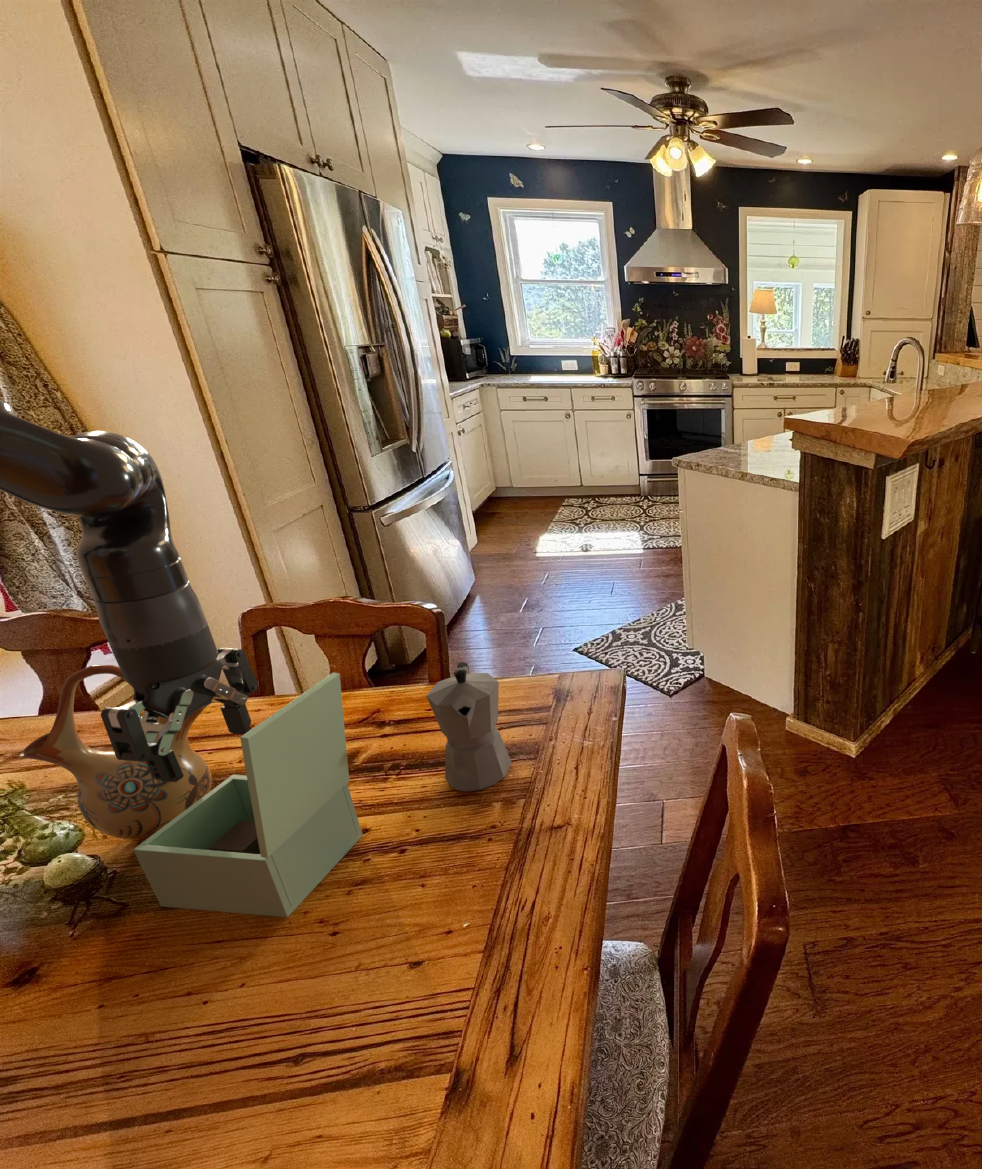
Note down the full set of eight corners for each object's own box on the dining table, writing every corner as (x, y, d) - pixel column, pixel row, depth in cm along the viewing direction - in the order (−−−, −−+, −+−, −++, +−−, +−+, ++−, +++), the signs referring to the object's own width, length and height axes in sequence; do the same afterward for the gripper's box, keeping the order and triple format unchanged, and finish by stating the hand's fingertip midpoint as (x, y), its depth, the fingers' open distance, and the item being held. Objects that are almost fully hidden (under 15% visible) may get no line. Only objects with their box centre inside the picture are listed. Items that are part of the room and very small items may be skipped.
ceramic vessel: (242, 783, 91) (184, 632, 82) (245, 818, 85) (183, 659, 76) (82, 836, 81) (-6, 672, 72) (72, 880, 75) (-25, 707, 66)
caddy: (160, 906, 72) (132, 849, 69) (252, 826, 84) (232, 774, 80) (287, 917, 71) (265, 860, 68) (363, 835, 83) (347, 783, 80)
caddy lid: (239, 737, 61) (247, 738, 61) (333, 672, 73) (339, 673, 73) (260, 856, 68) (267, 858, 68) (343, 779, 79) (349, 780, 79)
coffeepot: (516, 790, 92) (498, 686, 85) (444, 809, 88) (420, 701, 81) (507, 732, 104) (492, 638, 97) (445, 746, 100) (424, 649, 94)
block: (254, 877, 75) (243, 850, 74) (219, 875, 76) (207, 847, 74) (282, 849, 79) (273, 822, 78) (249, 847, 80) (239, 820, 78)
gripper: (120, 665, 58) (179, 800, 64) (250, 603, 71) (289, 720, 77) (46, 660, 59) (112, 795, 65) (189, 599, 72) (232, 716, 78)
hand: (208, 754), depth 71 cm, fingers open, 8 cm apart
